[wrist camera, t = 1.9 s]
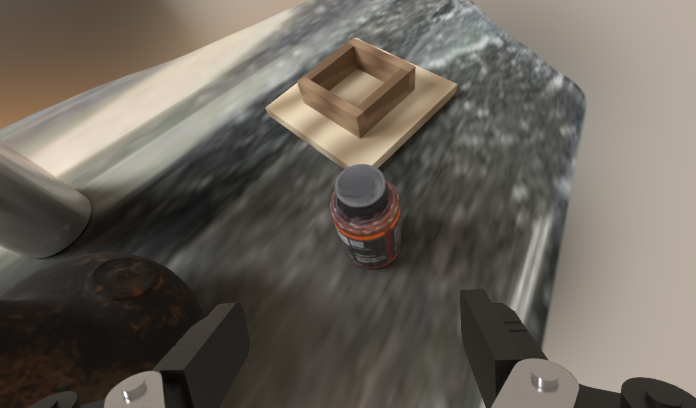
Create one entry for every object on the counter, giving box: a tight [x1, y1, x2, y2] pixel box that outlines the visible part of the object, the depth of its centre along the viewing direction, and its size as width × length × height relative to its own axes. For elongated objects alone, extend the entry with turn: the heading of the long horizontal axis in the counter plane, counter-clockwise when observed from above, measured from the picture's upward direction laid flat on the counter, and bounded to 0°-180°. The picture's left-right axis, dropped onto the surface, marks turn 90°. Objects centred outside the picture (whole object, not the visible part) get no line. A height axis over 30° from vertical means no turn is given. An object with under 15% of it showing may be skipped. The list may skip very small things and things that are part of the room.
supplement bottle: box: [330, 164, 402, 269], centre depth 30 cm, size 6×6×11 cm
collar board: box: [266, 38, 457, 169], centre depth 44 cm, size 18×18×5 cm
